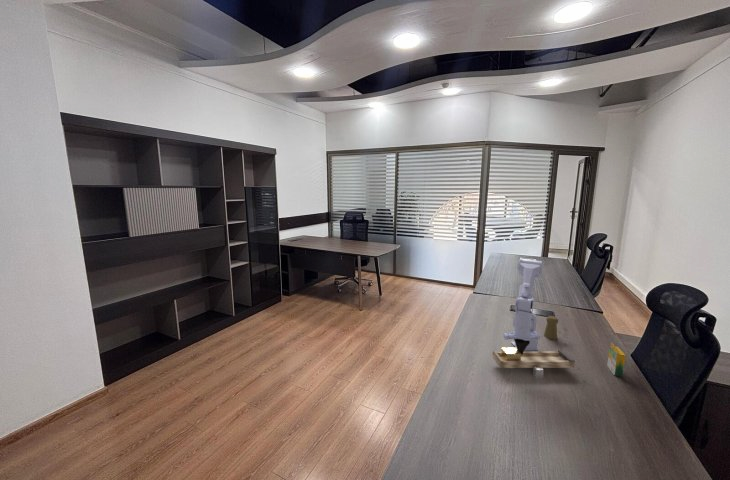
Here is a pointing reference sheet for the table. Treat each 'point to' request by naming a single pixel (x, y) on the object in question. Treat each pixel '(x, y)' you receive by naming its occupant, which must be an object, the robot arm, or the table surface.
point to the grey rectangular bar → (538, 372)
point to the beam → (537, 360)
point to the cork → (551, 327)
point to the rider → (510, 354)
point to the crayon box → (616, 360)
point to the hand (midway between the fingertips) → (519, 354)
